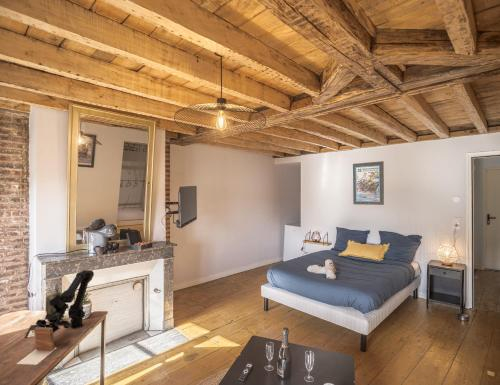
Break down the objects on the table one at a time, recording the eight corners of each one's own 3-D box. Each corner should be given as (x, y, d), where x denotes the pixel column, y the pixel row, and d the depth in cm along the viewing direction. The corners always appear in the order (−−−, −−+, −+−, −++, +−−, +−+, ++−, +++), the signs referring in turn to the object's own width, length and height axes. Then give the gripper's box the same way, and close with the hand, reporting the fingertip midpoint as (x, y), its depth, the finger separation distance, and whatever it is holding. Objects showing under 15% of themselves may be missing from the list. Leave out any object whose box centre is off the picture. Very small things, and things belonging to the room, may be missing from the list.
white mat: (38, 347, 172) (38, 347, 172) (57, 348, 172) (57, 347, 172) (16, 364, 155) (16, 363, 155) (36, 365, 155) (36, 364, 155)
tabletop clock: (64, 320, 208) (66, 286, 208) (50, 324, 201) (52, 289, 201) (58, 314, 217) (60, 281, 218) (44, 317, 211) (46, 284, 211)
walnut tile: (38, 347, 171) (36, 327, 168) (54, 348, 171) (52, 327, 168) (36, 349, 169) (33, 329, 166) (52, 350, 169) (50, 330, 166)
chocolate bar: (46, 323, 202) (41, 334, 186) (46, 324, 202) (41, 336, 186) (30, 325, 197) (24, 337, 181) (30, 326, 197) (24, 338, 181)
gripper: (38, 306, 175) (23, 333, 164) (68, 307, 175) (55, 334, 164) (46, 314, 183) (33, 339, 172) (75, 315, 183) (63, 340, 172)
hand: (46, 338), depth 170 cm, fingers closed
